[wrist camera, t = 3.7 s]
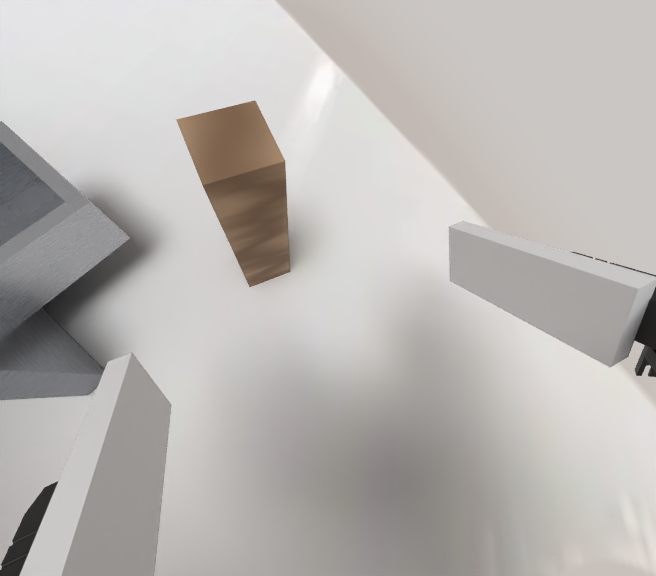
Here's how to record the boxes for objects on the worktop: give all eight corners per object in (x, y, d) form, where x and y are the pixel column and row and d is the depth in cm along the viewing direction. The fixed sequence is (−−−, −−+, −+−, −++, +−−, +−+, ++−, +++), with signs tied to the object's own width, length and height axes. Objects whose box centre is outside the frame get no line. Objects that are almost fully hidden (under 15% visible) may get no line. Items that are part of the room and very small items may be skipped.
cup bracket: (-64, 239, 26) (-270, 156, 17) (51, 165, 29) (-65, 61, 20) (87, 395, 24) (-51, 403, 14) (195, 296, 27) (141, 248, 17)
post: (249, 287, 28) (202, 185, 14) (235, 250, 29) (176, 119, 14) (289, 271, 29) (285, 160, 14) (274, 236, 30) (255, 100, 15)
